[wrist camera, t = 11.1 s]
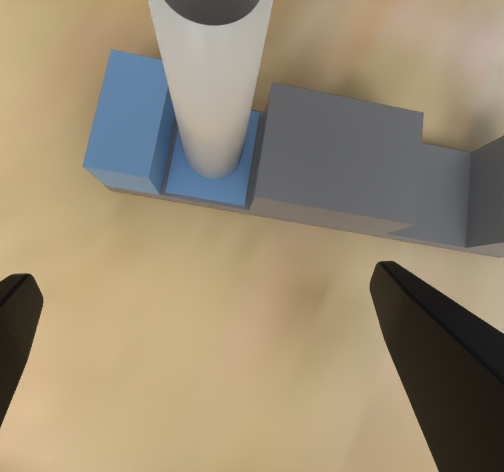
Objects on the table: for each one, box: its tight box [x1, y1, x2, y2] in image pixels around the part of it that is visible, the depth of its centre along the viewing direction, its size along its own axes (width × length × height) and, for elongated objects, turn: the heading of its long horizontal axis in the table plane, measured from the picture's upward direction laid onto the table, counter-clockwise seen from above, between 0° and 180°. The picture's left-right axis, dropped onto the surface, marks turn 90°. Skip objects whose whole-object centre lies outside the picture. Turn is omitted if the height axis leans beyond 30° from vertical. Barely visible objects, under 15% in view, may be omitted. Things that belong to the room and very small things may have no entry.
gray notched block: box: [83, 50, 504, 257], centre depth 19 cm, size 6×24×4 cm, turn 81°
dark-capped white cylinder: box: [148, 0, 273, 179], centre depth 13 cm, size 3×3×13 cm
